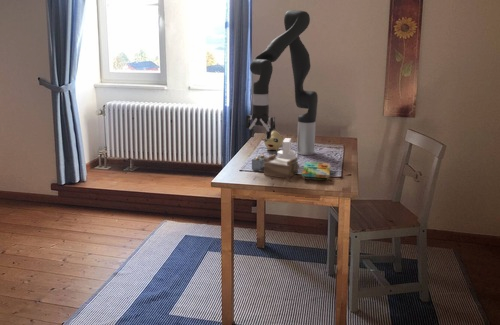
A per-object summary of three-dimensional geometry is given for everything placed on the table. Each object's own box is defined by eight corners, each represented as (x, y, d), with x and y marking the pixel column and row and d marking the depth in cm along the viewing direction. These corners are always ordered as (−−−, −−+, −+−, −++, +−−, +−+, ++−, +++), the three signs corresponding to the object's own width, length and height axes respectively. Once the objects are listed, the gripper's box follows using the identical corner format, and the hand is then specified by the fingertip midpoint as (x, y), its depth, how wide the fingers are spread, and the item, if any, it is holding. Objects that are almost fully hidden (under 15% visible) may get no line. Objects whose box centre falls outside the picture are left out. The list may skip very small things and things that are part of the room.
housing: (259, 165, 233) (259, 154, 232) (267, 166, 231) (267, 155, 230) (251, 169, 226) (251, 157, 225) (260, 170, 224) (260, 158, 223)
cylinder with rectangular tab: (294, 166, 231) (295, 142, 228) (275, 165, 233) (276, 141, 230) (296, 162, 240) (297, 138, 236) (278, 161, 241) (279, 137, 238)
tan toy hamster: (261, 152, 259) (261, 132, 256) (267, 147, 270) (267, 128, 267) (278, 153, 256) (279, 134, 253) (284, 148, 267) (284, 129, 264)
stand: (273, 169, 226) (274, 153, 224) (297, 172, 221) (297, 157, 219) (264, 174, 218) (264, 158, 216) (288, 178, 212) (288, 162, 210)
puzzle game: (330, 161, 224) (329, 173, 205) (330, 171, 225) (328, 183, 206) (305, 160, 226) (302, 171, 207) (305, 169, 228) (301, 182, 209)
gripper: (278, 103, 221) (277, 138, 225) (250, 101, 227) (250, 135, 231) (271, 105, 214) (270, 141, 218) (243, 103, 221) (242, 137, 225)
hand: (260, 138), depth 225 cm, fingers open, 8 cm apart
